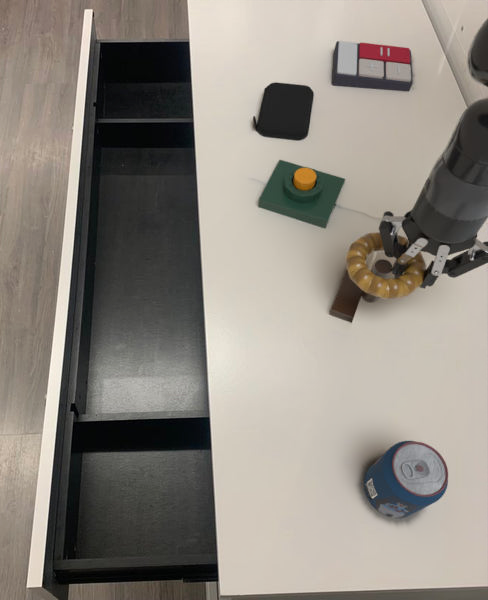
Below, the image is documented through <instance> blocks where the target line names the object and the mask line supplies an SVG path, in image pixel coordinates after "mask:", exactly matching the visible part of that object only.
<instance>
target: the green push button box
mask: <svg viewBox="0 0 488 600" xmlns="http://www.w3.org/2000/svg"><path fill="white" fill-rule="evenodd" d="M300 168H309V169H312V170H313V171H314V172H315V173H316V181H315V185H314V187H313V188H312V189H310V190H307V191H303V190H299V189H297V188H296V187H295V186H294V184H293V180H294V174H295V172H296V171H297V170H298V169H300ZM345 183H346V178H345V177H341V176H338V175H334V174H330V173H328V172H323V171H321V170H317V169H315V168H311V167H308V166H303V165H299V164H295V163H292V162H290V161H285V160H282V159H279V160H278V162H277V163H276V165H275V167H274V170H273V171H272V172H271V175H270V177H269V179H268V181H267V183H266V185H265V186H264V189H263V191H262V193H261V194H260V196H259V198H258V205H257V206H258V208H260V209H263V210H266V211H269V212H271V213H276V214H279V215H281V216H285V217H288V218H291V219H294V220H297V221H300V222H303V223H306V224H310V225H313V226H317V227H319V228H321V229H326V228H327V226H328V224H329V222H330V219H331V217H332V214H333V212H334V210H335V207H336V205H337V201H338V199H339V197H340V194H341V192H342V191H343V190H342V189H343V187H344V185H345Z"/></svg>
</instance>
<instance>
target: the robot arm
mask: <svg viewBox="0 0 488 600" xmlns="http://www.w3.org/2000/svg"><path fill="white" fill-rule="evenodd" d="M466 62H467V63H466V64H467V66H466V67H467V71H468V74H469V76H470V78H471V79H472V80H473V81H474V82H475V83H477V84H479V85H480V86H483V87H486V88H488V17H487V18H486V19H485V21H484V22H483V23H482V24H481V26H480V27H479V29H478V31H477V32H476V33H475V35H474V37H473V39H472V41H471V43H470V45H469V49H468V52H467V61H466ZM487 220H488V97H484V98H481V99H478V100H475V101H473V102H472V103H471V104H469V105H468V106H467V108H465V110H464V111H463V113H462V114H461V115H460V117H459V119H458V121H457V123H456V125H455V127H454V129H453V131H452V134H451V136H450V138H449V140H448V141H447V144H446V146H445V148H444V149H443V151H442V153H441V154H440V155H439V157H438V158H437V159H436V161H435V163H434V164H433V166H432V168H431V170H430V172H429V174H428V176H427V178H426V180H425V182H424V185H423V187H422V189H421V191H420V192H419V194H418V196H417V199H416V201H415V203H414V205H413V207H412V208H411V209H410V210H408V211H407V212H406V213H405V214H404V216H400V215H399V216H397V215H394V213H393V212H392V211H388V210H387V211H384V212H383V214H382V217H381V220H380V223H379V225H378V232H380V236H381V240H382V244H383V248H384V250H383V252H384V255H385V256H386V257H388V258H394V259H395V261H394V263H393V264H392V267H393V268H392V271H391V275H394V277H393V279H395V278H398V277H400V276H401V275H403V274H404V271H405V269H406V267H407V265H408V262H409V260H410V259H411V258H414V257H415V256H416V254H417V253H418V252H419V251H421V253H422V252H423V253H428V254H430V255H432V256H435V257H434V260H431V261H430V263H429V264H428V266H427V267H426V272H425V276H424V279H423V282H422V285H421V286H420V287H419V288H422V289H424V290H425V289H426V288H427V287H429V288H431V287H432V286H433V285H434V284H435V283H436V281H437V280H438V278H439V277H440V276H441V275H447V276H448V277H449V278H452V279H455V278H458V277H460V276H462V275H464V274H466V273H470V272H471V271H473V270H476V269H478V268H479V267H482V266H484V265H486V264H488V241H483V242H482V241H481V240H479V239H478V233H479V231H480V230H481V228H483V225H484V224H485V222H487ZM400 228H402V230H403V232H404V234H405V236H406V238H407V239H408V240H407V241H406V242H405V243H404V244H403V245H402V244H400V243H399V238H398V235H399V234H398V233H399V230H400ZM460 252H461V253H460ZM456 253H459V254H458V255H456V256H453V257H452V258H451V259H448V256H451V255H454V254H456Z"/></svg>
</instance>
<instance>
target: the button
mask: <svg viewBox="0 0 488 600" xmlns="http://www.w3.org/2000/svg"><path fill="white" fill-rule="evenodd" d="M309 168H310V167H308V168H300V169H298V170H297V171H296V172H295V174H294V180H293V184H294V186H295V187H296V188H297V189H299V190H303V191H307V190H310V189H312V188H313V187H314V185H315V181H316V173H315V172H314V171H313V170H312V169H313V168H311V169H309Z"/></svg>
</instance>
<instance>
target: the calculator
mask: <svg viewBox="0 0 488 600" xmlns="http://www.w3.org/2000/svg"><path fill="white" fill-rule="evenodd" d="M412 63H413V62H412V50H411V49H410V48H409V47H404V46H393V45H387V44H386V45H385V44H377V43H368V42H359V43H358V42H352V41H343V40H338V41H336V42H335V46H334V49H333V53H332V68H331V82H330V83H331V84H330V85H331V86H334V87H342V88H343V87H345V88H355V89H370V90H383V91H393V92H395V91H396V92H397V91H398V92H410V91H411V88H412V86H413V82H414V81H413V64H412Z"/></svg>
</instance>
